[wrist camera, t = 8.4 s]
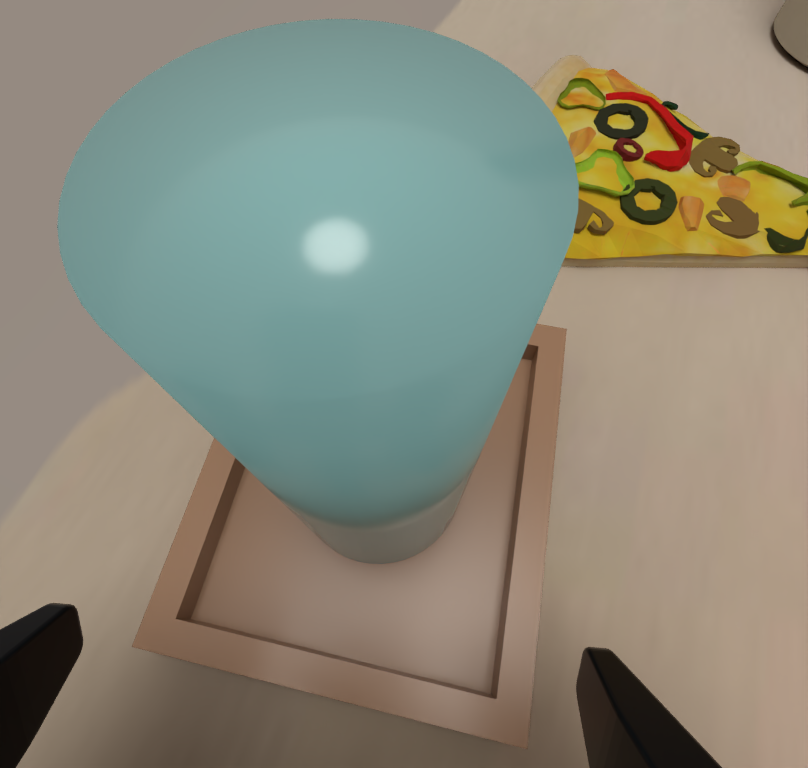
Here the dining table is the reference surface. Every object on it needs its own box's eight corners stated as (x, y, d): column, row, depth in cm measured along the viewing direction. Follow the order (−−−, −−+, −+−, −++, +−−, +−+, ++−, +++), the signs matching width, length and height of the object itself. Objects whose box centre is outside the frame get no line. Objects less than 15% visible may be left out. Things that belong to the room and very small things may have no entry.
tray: (513, 734, 16) (527, 749, 14) (161, 643, 17) (131, 646, 15) (553, 353, 22) (566, 329, 20) (287, 305, 23) (277, 278, 21)
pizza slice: (534, 74, 31) (546, 21, 28) (904, 168, 27) (959, 118, 24) (441, 261, 25) (445, 217, 22) (899, 415, 21) (972, 385, 18)
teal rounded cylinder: (477, 547, 17) (661, 349, 5) (306, 578, 17) (17, 450, 4) (443, 393, 20) (504, -1, 7) (293, 416, 20) (86, 43, 7)
